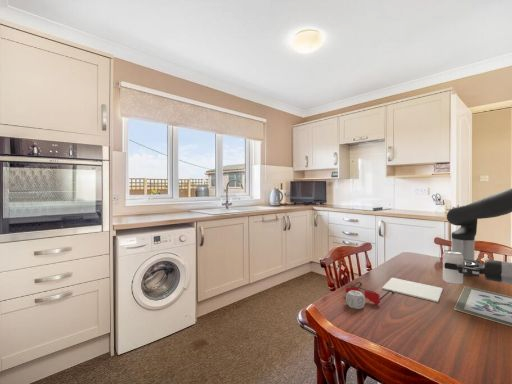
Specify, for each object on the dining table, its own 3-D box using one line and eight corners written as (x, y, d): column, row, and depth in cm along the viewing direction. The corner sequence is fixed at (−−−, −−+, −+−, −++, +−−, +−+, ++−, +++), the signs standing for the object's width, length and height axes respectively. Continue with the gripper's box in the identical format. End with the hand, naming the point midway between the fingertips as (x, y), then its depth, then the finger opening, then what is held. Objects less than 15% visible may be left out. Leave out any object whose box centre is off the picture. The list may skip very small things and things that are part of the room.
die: (356, 302, 100) (356, 289, 99) (365, 307, 95) (365, 294, 95) (345, 304, 98) (345, 291, 98) (354, 310, 93) (354, 296, 93)
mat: (391, 278, 124) (391, 277, 123) (442, 289, 110) (442, 288, 110) (382, 289, 112) (382, 287, 112) (437, 302, 98) (437, 300, 98)
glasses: (344, 296, 106) (344, 284, 105) (361, 285, 117) (361, 274, 117) (379, 307, 96) (379, 294, 96) (394, 294, 107) (394, 282, 107)
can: (466, 285, 99) (467, 254, 98) (447, 284, 100) (448, 253, 100) (457, 279, 105) (457, 250, 105) (439, 278, 106) (439, 249, 106)
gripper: (501, 257, 98) (447, 250, 109) (503, 266, 87) (443, 258, 98) (501, 276, 98) (447, 267, 109) (503, 288, 87) (443, 277, 99)
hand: (445, 263), depth 104 cm, fingers closed on can, 6 cm apart
